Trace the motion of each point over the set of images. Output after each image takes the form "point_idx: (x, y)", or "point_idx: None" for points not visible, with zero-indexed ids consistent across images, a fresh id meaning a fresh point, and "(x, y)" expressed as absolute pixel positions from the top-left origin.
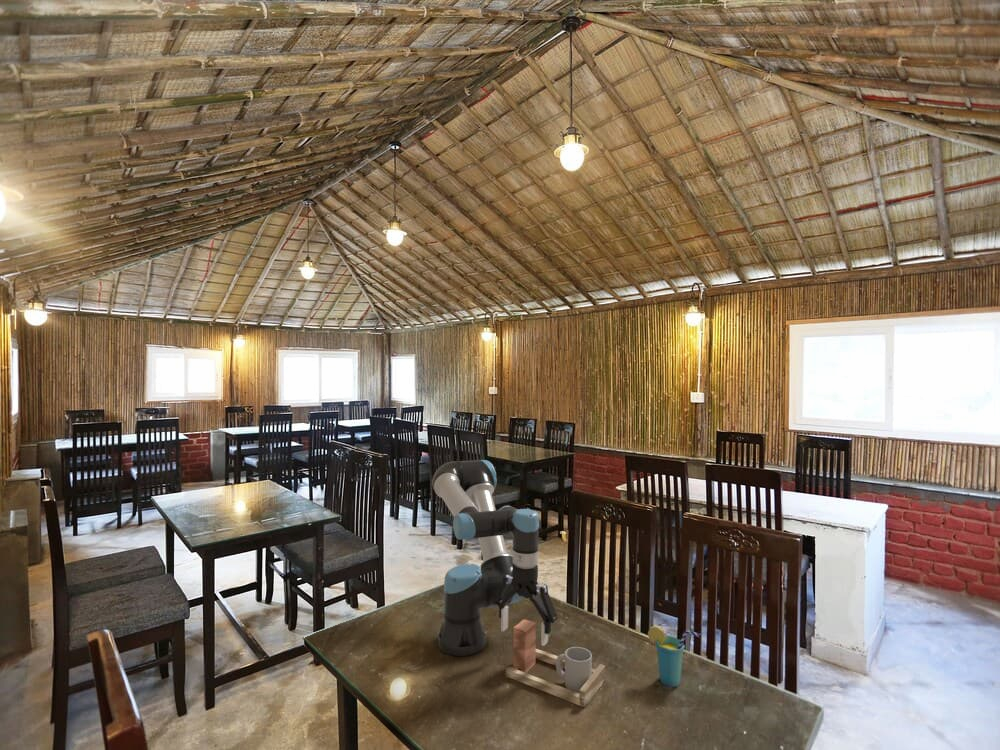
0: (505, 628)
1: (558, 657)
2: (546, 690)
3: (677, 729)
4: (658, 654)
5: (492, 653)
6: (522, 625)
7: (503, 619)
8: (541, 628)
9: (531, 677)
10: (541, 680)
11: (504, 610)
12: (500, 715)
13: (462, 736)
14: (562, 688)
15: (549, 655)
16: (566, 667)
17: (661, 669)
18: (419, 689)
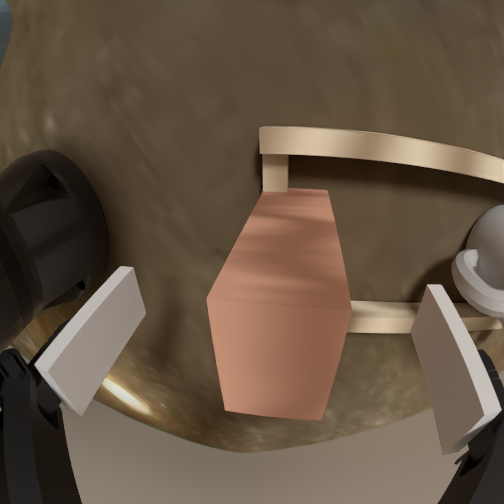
0: (136, 296)
1: (481, 311)
2: None
3: None
4: None
5: (141, 217)
6: (262, 384)
7: (112, 364)
8: (435, 417)
9: (367, 327)
10: (404, 324)
11: (80, 400)
12: (330, 407)
13: (292, 443)
14: (467, 322)
15: (384, 152)
16: (498, 319)
17: None
18: (146, 394)
